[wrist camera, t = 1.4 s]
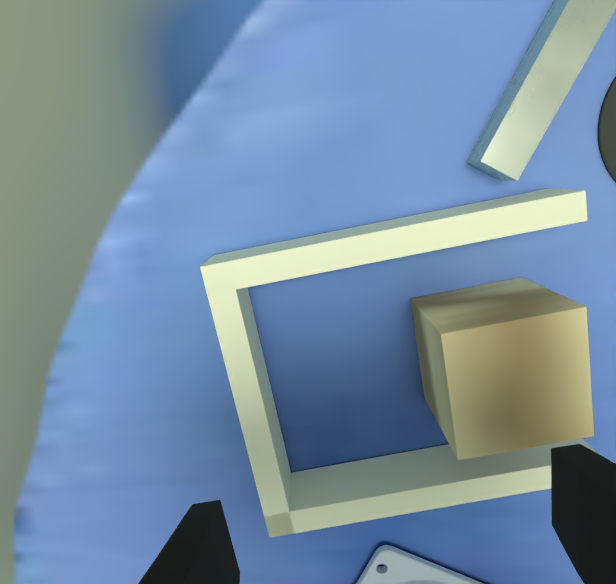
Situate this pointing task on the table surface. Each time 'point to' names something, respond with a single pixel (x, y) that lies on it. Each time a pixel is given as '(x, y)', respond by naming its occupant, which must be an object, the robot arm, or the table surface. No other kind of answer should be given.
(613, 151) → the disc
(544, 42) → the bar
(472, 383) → the block
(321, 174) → the table surface
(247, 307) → the u-shaped bracket
